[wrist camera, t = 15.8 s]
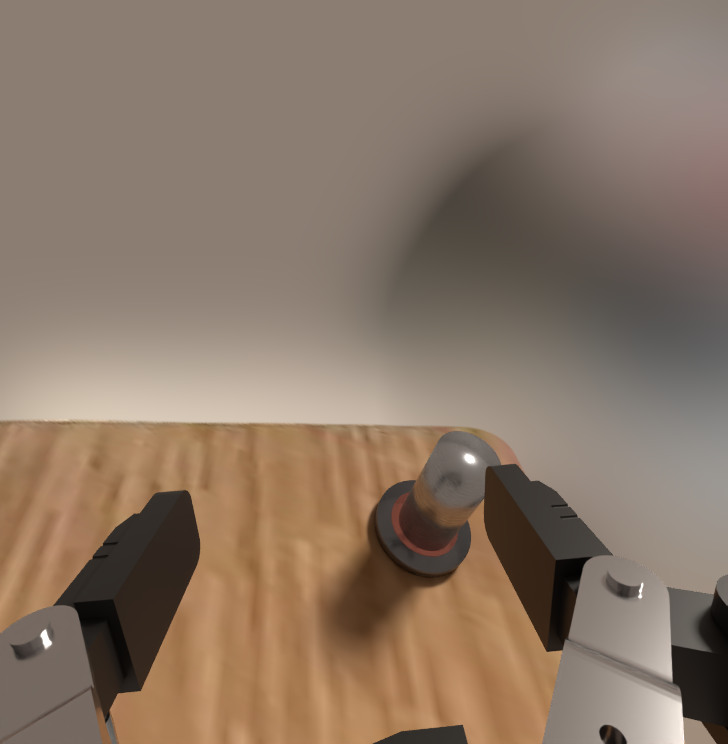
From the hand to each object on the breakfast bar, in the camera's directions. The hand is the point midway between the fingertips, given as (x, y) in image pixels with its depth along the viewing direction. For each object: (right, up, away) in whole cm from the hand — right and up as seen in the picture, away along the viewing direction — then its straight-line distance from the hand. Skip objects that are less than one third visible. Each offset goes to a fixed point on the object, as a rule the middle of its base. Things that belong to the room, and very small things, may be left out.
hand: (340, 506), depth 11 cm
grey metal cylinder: (+6, -10, +27) cm, 29 cm away
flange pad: (+6, -11, +27) cm, 30 cm away
